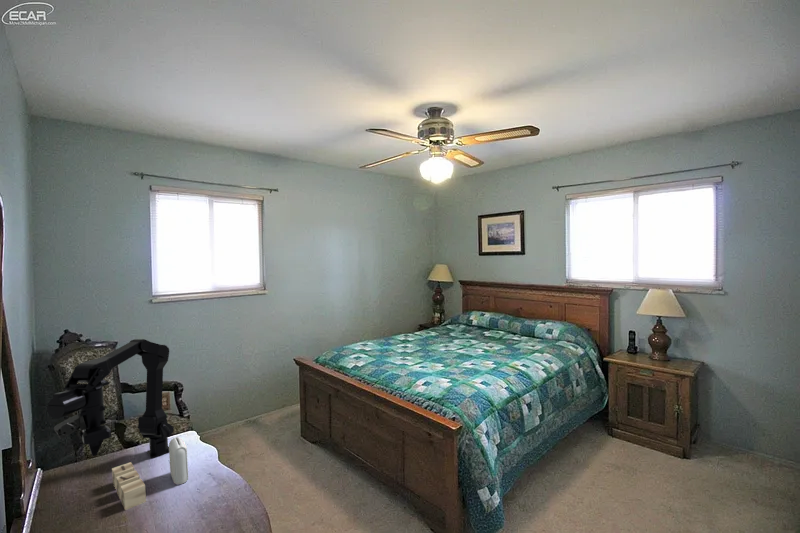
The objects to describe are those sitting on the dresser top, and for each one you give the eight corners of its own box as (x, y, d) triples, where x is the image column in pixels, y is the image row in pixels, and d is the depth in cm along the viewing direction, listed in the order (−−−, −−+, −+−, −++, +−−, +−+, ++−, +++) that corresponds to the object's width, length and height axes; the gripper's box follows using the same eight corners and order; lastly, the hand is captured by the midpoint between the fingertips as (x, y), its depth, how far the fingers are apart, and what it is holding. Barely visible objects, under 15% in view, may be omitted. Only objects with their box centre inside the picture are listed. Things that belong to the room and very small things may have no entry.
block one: (112, 484, 120) (111, 468, 119) (131, 477, 123) (130, 461, 123) (115, 490, 116) (114, 474, 116) (135, 483, 120) (134, 467, 120)
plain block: (121, 503, 110) (120, 486, 110) (141, 494, 113) (141, 478, 113) (125, 510, 106) (124, 493, 106) (146, 502, 110) (145, 485, 110)
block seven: (116, 493, 115) (116, 476, 115) (136, 485, 118) (135, 469, 118) (120, 500, 111) (119, 483, 111) (140, 492, 115) (139, 475, 115)
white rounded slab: (169, 473, 125) (167, 436, 124) (183, 468, 127) (182, 432, 127) (174, 487, 117) (172, 447, 116) (189, 481, 119) (188, 443, 119)
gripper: (52, 405, 114) (55, 455, 115) (58, 422, 101) (62, 479, 102) (99, 394, 122) (101, 441, 123) (110, 409, 110) (113, 461, 110)
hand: (94, 455), depth 114 cm, fingers closed
